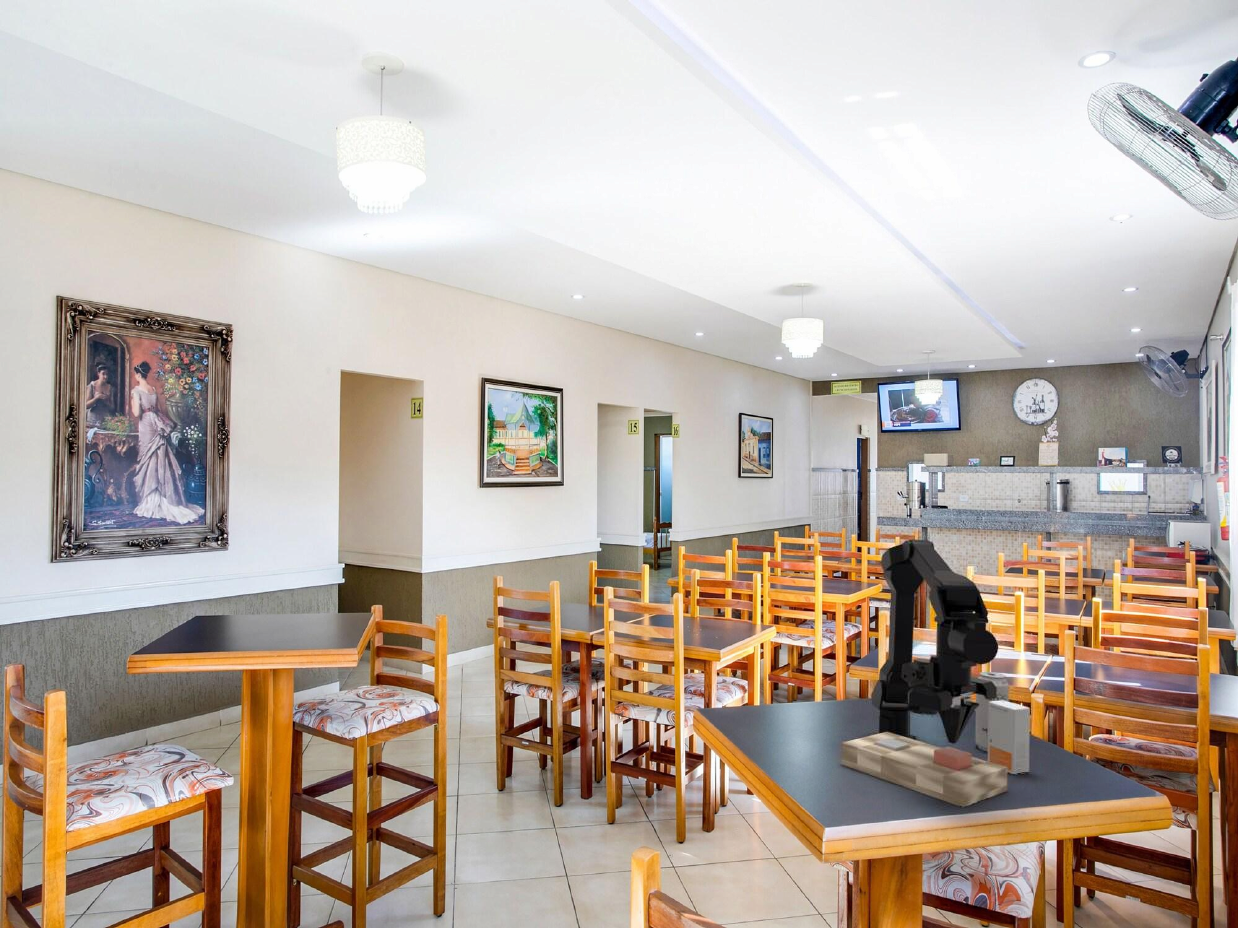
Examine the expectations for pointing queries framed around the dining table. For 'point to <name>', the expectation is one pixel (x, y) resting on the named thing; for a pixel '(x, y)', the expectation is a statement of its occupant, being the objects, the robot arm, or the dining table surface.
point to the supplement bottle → (922, 663)
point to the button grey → (892, 744)
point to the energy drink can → (983, 708)
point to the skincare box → (1009, 735)
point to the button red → (952, 758)
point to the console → (924, 770)
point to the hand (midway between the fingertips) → (952, 742)
